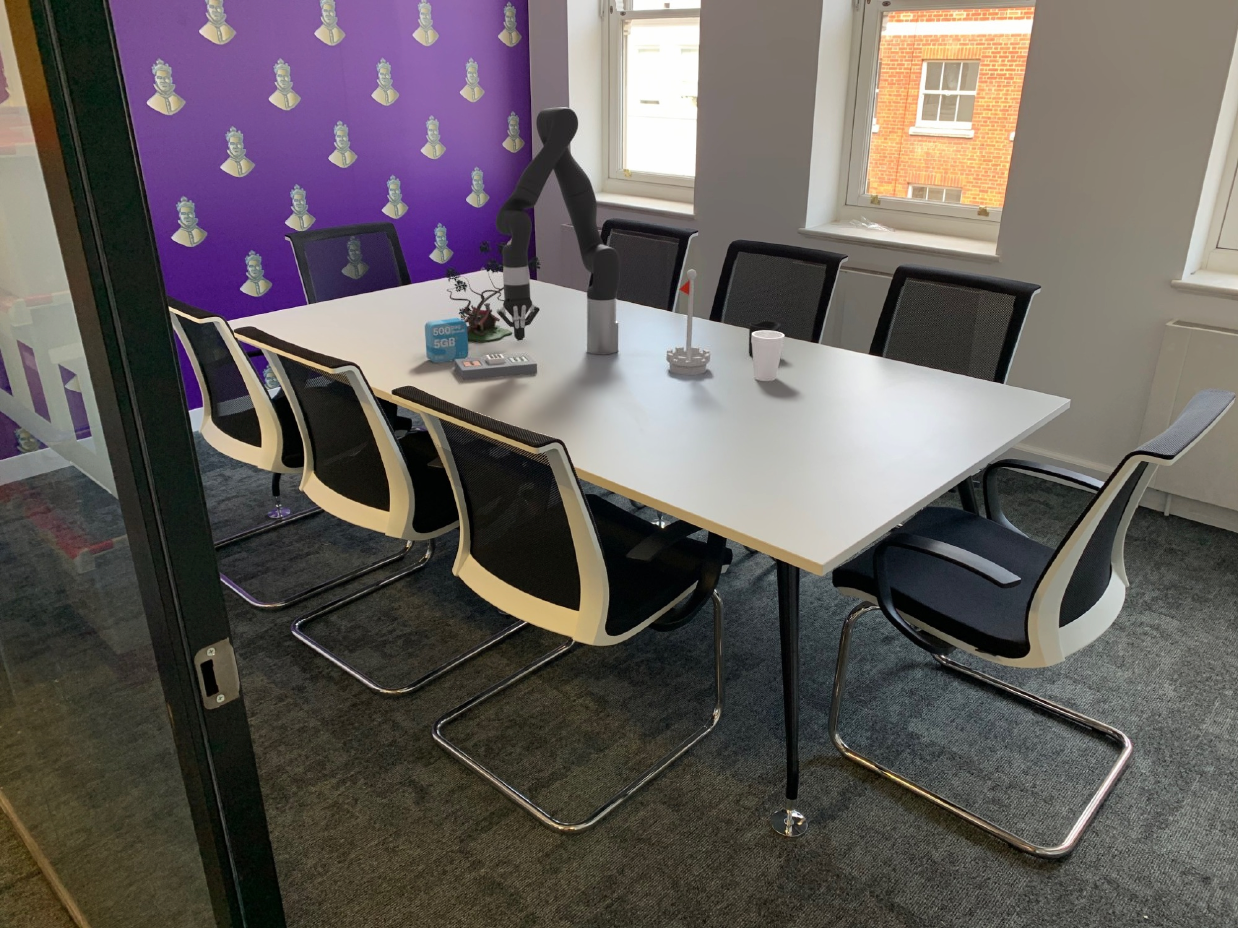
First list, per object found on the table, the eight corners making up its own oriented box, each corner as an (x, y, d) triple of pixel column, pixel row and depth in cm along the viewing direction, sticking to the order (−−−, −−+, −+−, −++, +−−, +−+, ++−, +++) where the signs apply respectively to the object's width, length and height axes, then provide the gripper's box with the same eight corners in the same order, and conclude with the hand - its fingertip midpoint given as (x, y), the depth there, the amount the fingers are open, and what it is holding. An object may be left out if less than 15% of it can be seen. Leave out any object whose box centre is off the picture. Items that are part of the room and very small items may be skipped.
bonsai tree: (484, 353, 298) (479, 251, 286) (432, 339, 312) (426, 242, 300) (559, 332, 323) (557, 238, 311) (508, 320, 337) (505, 230, 325)
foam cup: (760, 384, 271) (764, 340, 266) (742, 375, 279) (745, 332, 274) (787, 380, 275) (791, 336, 270) (768, 371, 283) (772, 329, 278)
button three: (501, 363, 282) (500, 353, 281) (505, 367, 278) (504, 357, 277) (486, 365, 281) (485, 354, 279) (489, 369, 277) (489, 358, 275)
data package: (432, 364, 286) (429, 325, 282) (426, 360, 290) (424, 322, 285) (468, 358, 292) (466, 320, 288) (462, 355, 296) (460, 317, 291)
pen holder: (776, 360, 294) (779, 328, 290) (746, 358, 296) (748, 326, 292) (778, 352, 303) (780, 321, 299) (748, 350, 304) (750, 319, 301)
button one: (478, 370, 280) (477, 360, 279) (481, 374, 276) (481, 364, 275) (463, 372, 279) (462, 361, 278) (466, 376, 275) (465, 365, 274)
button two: (524, 366, 285) (523, 356, 284) (528, 370, 281) (527, 360, 280) (509, 367, 283) (508, 357, 282) (513, 372, 279) (512, 361, 278)
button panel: (526, 362, 289) (526, 353, 288) (537, 373, 278) (536, 363, 277) (454, 369, 282) (454, 359, 280) (463, 380, 271) (462, 370, 270)
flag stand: (686, 360, 292) (689, 263, 281) (718, 369, 284) (723, 269, 272) (657, 369, 284) (659, 269, 273) (689, 378, 275) (693, 275, 264)
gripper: (535, 276, 277) (537, 334, 284) (490, 280, 273) (494, 339, 280) (542, 282, 271) (544, 340, 278) (497, 286, 267) (500, 345, 273)
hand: (519, 339), depth 279 cm, fingers closed
